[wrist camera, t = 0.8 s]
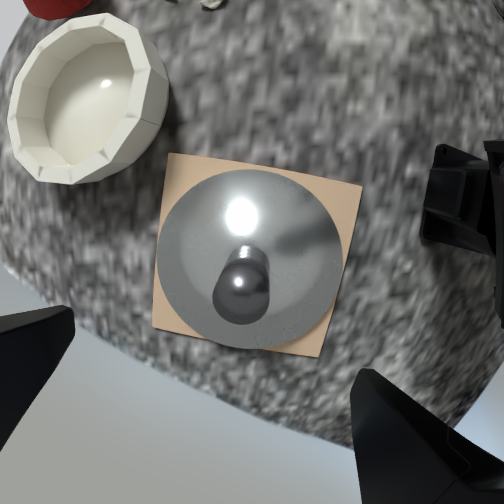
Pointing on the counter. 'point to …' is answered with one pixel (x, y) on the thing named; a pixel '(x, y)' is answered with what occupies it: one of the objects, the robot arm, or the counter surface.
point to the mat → (325, 190)
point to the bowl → (87, 101)
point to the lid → (249, 259)
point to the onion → (55, 8)
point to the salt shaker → (499, 6)
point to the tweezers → (211, 3)
